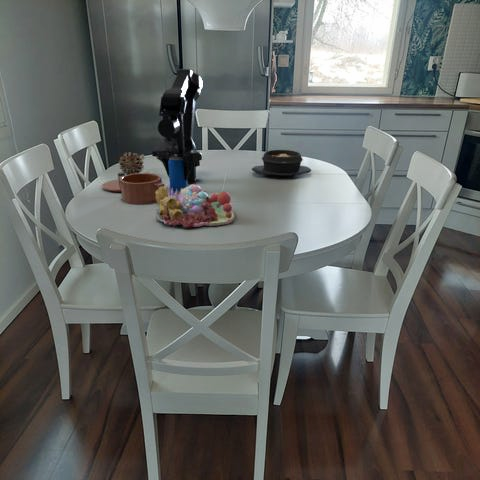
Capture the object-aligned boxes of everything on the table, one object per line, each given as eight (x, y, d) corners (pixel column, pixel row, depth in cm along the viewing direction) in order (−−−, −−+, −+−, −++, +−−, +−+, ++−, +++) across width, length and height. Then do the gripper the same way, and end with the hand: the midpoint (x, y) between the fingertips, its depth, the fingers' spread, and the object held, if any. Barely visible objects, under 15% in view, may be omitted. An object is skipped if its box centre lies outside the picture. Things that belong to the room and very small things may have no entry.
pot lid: (132, 180, 181) (130, 166, 178) (150, 188, 170) (148, 174, 167) (96, 186, 173) (94, 171, 170) (112, 195, 163) (110, 180, 160)
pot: (136, 189, 169) (134, 170, 166) (176, 197, 160) (175, 177, 157) (108, 198, 159) (105, 178, 156) (149, 208, 150) (147, 187, 147)
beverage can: (184, 194, 164) (183, 160, 158) (167, 193, 165) (165, 159, 159) (190, 189, 170) (188, 156, 163) (173, 188, 171) (171, 155, 164)
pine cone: (140, 181, 179) (137, 155, 174) (116, 181, 179) (113, 155, 174) (152, 168, 198) (150, 144, 192) (130, 168, 198) (128, 144, 193)
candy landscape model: (165, 233, 130) (163, 202, 125) (146, 210, 149) (143, 181, 144) (245, 222, 139) (245, 192, 134) (217, 201, 157) (216, 174, 152)
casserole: (252, 179, 182) (253, 158, 177) (250, 168, 198) (251, 148, 193) (314, 179, 183) (316, 158, 178) (307, 168, 198) (309, 148, 194)
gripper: (139, 133, 156) (143, 179, 164) (181, 139, 147) (183, 187, 155) (160, 129, 164) (164, 173, 172) (202, 134, 155) (203, 180, 163)
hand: (177, 178), depth 165 cm, fingers closed on beverage can, 7 cm apart
